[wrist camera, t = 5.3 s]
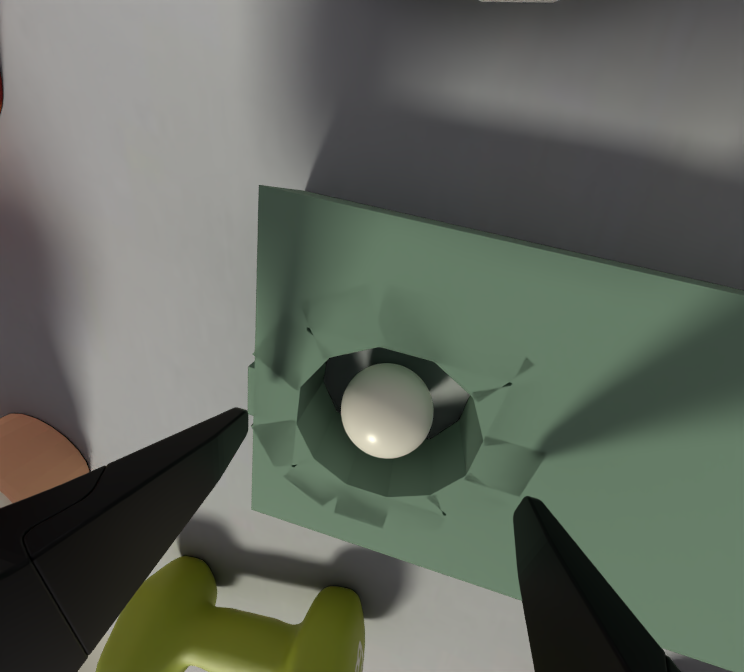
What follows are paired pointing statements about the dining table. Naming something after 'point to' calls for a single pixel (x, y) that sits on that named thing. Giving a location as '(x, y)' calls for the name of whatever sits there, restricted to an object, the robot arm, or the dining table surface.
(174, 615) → the dumbbell
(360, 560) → the dining table surface
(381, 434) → the ball
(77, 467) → the salt shaker
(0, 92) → the paper cup
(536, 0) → the teacup
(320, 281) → the green slab with hollow
